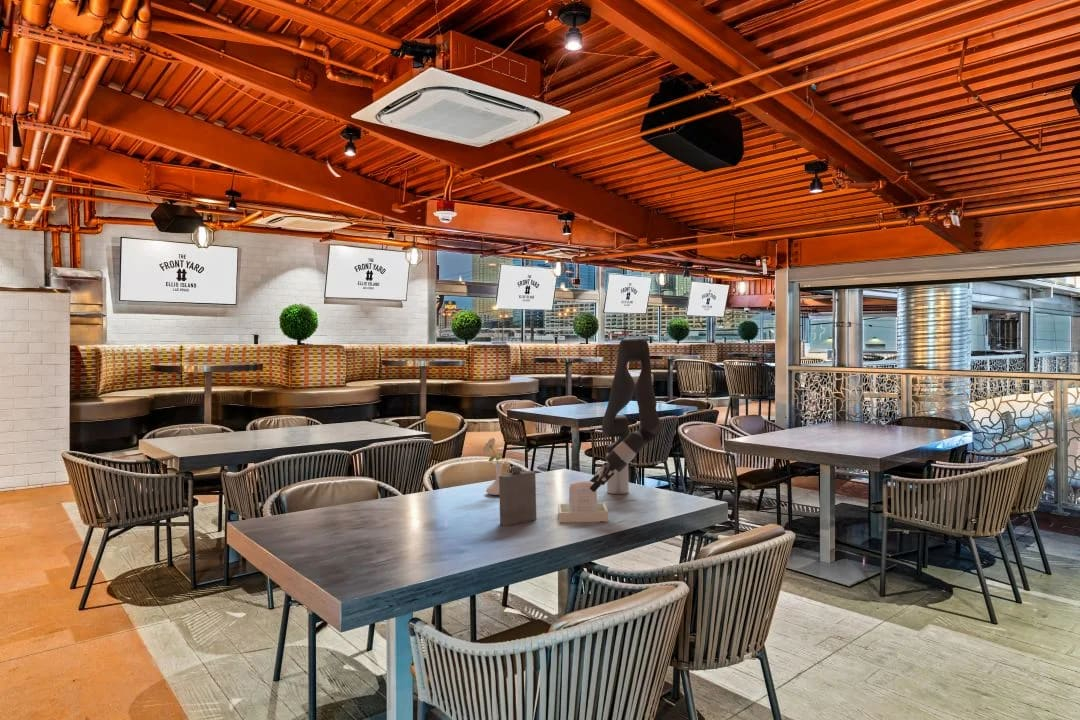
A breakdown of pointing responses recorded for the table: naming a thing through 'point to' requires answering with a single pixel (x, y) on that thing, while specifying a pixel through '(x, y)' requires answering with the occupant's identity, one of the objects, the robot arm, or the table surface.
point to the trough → (583, 514)
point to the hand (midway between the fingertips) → (590, 487)
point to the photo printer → (582, 497)
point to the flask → (517, 496)
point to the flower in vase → (494, 487)
